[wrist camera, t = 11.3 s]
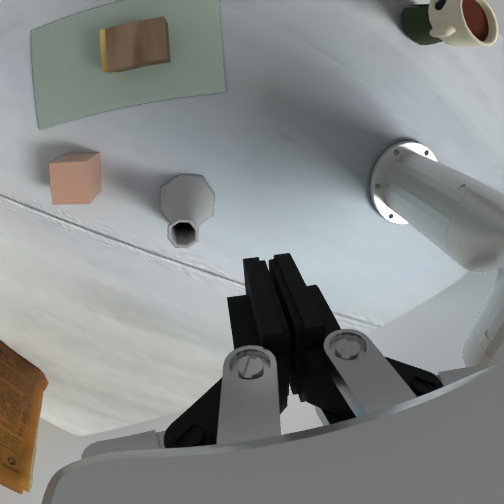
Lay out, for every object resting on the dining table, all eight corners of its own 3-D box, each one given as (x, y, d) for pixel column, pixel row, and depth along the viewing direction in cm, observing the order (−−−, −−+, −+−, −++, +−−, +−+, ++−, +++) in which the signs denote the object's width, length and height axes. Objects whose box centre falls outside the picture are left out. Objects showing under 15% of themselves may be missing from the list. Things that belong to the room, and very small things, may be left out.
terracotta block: (100, 152, 35) (86, 161, 30) (101, 190, 37) (89, 203, 33) (65, 154, 34) (48, 163, 29) (67, 191, 36) (52, 204, 32)
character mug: (424, -7, 28) (485, -20, 17) (448, 33, 31) (511, 31, 20) (378, 18, 30) (439, 3, 19) (406, 61, 34) (471, 61, 22)
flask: (151, 182, 38) (136, 210, 29) (208, 166, 38) (209, 190, 29) (168, 233, 41) (160, 273, 32) (221, 219, 41) (227, 256, 33)
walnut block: (109, 35, 28) (168, 23, 28) (112, 73, 30) (170, 62, 31) (99, 30, 24) (163, 16, 25) (102, 71, 26) (166, 58, 27)
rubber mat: (217, -13, 27) (218, -14, 27) (225, 92, 34) (225, 92, 33) (32, 31, 25) (30, 31, 24) (40, 129, 31) (39, 130, 31)
